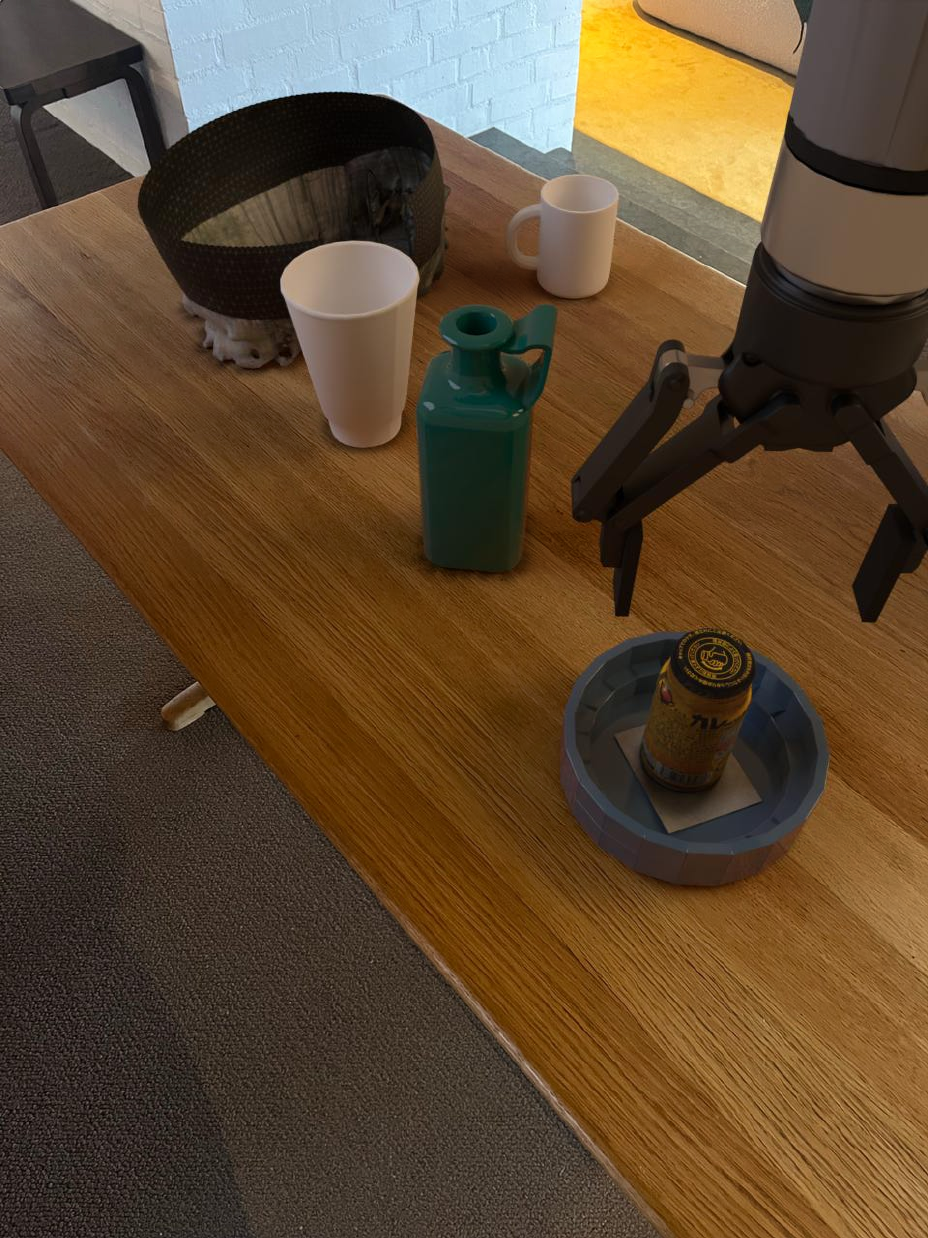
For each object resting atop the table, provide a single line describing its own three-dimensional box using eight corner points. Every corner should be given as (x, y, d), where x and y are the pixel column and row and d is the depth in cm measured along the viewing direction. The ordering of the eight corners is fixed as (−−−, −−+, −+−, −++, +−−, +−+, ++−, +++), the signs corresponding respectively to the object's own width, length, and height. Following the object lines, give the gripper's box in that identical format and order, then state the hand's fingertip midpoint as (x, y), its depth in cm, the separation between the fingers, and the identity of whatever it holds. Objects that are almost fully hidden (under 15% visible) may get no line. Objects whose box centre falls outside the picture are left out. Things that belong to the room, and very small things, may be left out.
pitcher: (420, 568, 82) (406, 349, 65) (435, 499, 87) (426, 280, 70) (534, 579, 81) (550, 361, 64) (543, 509, 86) (560, 290, 69)
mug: (505, 302, 107) (507, 214, 99) (501, 262, 112) (503, 175, 104) (612, 300, 107) (623, 211, 99) (604, 260, 112) (613, 172, 104)
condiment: (701, 707, 72) (735, 604, 62) (761, 802, 67) (807, 705, 57) (613, 736, 70) (634, 635, 61) (667, 835, 65) (700, 742, 56)
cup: (369, 371, 99) (354, 225, 87) (451, 422, 94) (448, 274, 82) (280, 425, 94) (250, 277, 81) (361, 483, 89) (343, 334, 76)
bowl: (784, 678, 74) (803, 634, 70) (828, 895, 63) (854, 859, 59) (556, 671, 75) (561, 627, 71) (561, 885, 64) (567, 848, 60)
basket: (519, 327, 104) (525, 180, 91) (200, 409, 96) (159, 259, 83) (424, 206, 120) (418, 67, 108) (145, 267, 112) (104, 124, 99)
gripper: (1141, 207, 39) (948, 556, 56) (535, 203, 41) (520, 547, 57) (1224, 312, 35) (986, 660, 51) (536, 305, 36) (519, 648, 52)
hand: (741, 601), depth 54 cm, fingers open, 13 cm apart
